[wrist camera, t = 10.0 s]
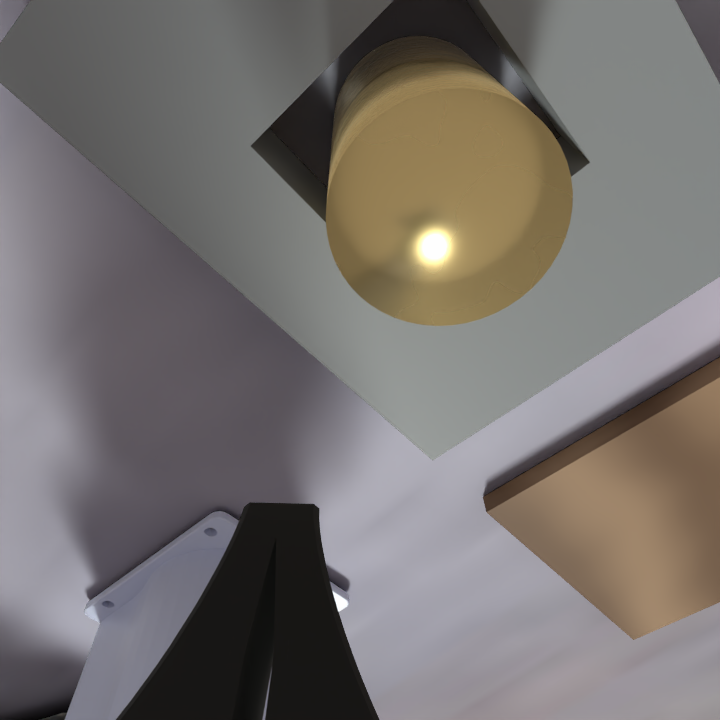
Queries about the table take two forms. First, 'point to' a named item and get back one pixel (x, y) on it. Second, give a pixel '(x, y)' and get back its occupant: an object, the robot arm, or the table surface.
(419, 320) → the brass peg
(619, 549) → the stand pad
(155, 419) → the table surface
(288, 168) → the grey square socket plate
